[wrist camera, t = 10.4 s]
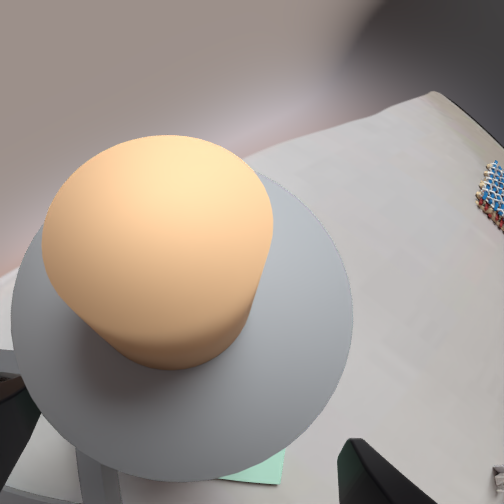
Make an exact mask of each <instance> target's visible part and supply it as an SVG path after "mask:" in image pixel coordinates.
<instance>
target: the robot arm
mask: <svg viewBox="0 0 504 504" xmlns="http://www.w3.org/2000/svg"><path fill="white" fill-rule="evenodd" d="M40 415H41V411H40V410H39V408H38V407H37V405H36V404H35V402H34V401H33V399H32V397H31V396H30V394H29V392H28V390H27V387H26V385H25V383H24V381H23V379H22V377H21V376H18V377H15V378H12V379H9V380H6V381H3V382H0V493H1V491H2V489H3V487H4V485H5V483H6V481H7V479H8V477H9V475H10V474H11V472H12V470H13V468H14V466H15V464H16V463H17V461H18V459H19V457H20V455H21V454H22V452H23V450H24V448H25V447H26V445H27V443H28V441H29V439H30V437H31V435H32V433H33V430H34V428H35V426H36V424H37V421H38V419H39V417H40ZM337 468H338V486H339V503H340V504H437V503H436V502H435V501H434V500H432V499H431V498H430V497H429V496H428V495H426V494H425V493H424V492H423V491H422V490H420V489H419V488H418V487H417V486H416V485H415V484H413V483H412V482H411V481H410V480H409V479H407V478H406V477H405V476H404V475H403V474H402V473H400V472H399V471H398V470H397V469H396V468H395V467H394V466H392V465H391V464H390V463H389V462H388V461H387V460H386V459H385V458H383V457H382V456H381V455H380V454H379V453H378V452H377V451H376V450H374V449H373V448H372V447H371V446H370V445H369V444H368V443H367V442H366V441H365V440H363V439H361V438H350V439H348V440H347V441H346V443H345V445H344V447H343V448H342V450H341V452H340V454H339V456H338V459H337Z"/></svg>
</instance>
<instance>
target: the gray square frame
mask: <svg viewBox="0 0 504 504" xmlns="http://www.w3.org/2000/svg"><path fill="white" fill-rule="evenodd" d="M18 376H21V374H20V371H19V367H18V364H17V361H16V357H15V354H14V351H12V350H2V349H0V377H3V378H10V379H12V378H15V377H18ZM76 457H77V466H78V473H79V481H80V487H81V493H82V499H83V504H122V500H121V494H120V487H119V481H118V474H117V470H115V469H113V468H110V467H108V466H105V465H103V464H101V463H99V462H98V461H96V460H94V459H93V458H91V457H89V456H88V455H86V454H84V453H83V452H81V451H80V450H78V449H77V448H76ZM0 504H80V503H74V502H69V501H64V500H59V499H54V498H49V497H45V496H40V495H36V494H32V493H29V492H25V491H21V490H18V489H14V488H11V487H8V486H5V485H4V487H3V489H2V491H1V493H0Z"/></svg>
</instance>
